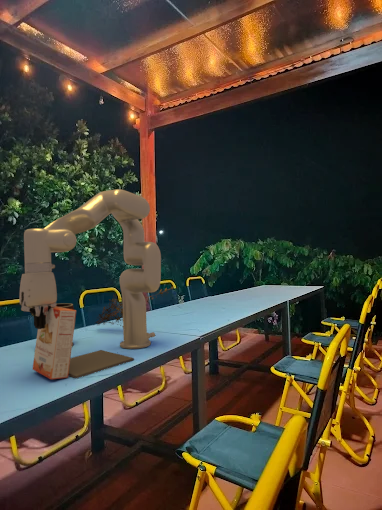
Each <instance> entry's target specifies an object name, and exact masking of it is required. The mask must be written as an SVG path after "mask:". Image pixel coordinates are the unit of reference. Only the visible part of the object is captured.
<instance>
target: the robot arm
mask: <svg viewBox="0 0 382 510" xmlns="http://www.w3.org/2000/svg"><path fill="white" fill-rule="evenodd" d="M150 211H151V206H150V203H149V202H148V200H147V199H146V198H145V197H143V196H141V195H138V194H136V193H133V192H130V191H127V190H125V189H120V188H117V189H116V188H115V189H108V190H104V191H100V192H98V193H96V194H95V195H93V197H91V198H90V199H89V200H87V201H86V202H85V203H83V204H82V205H81V206H79V207H78V208H77V209H74V210H72V211H70V212H68V213H66V214H65V215H63V216H61V217H59V218H57V219H56V220H54V221H52V222H50V223H49V224H48V225H47V226H45V227H44V228H28V229H26V230H24V232H23V246H24V247H23V248H24V251H23V253H24V273H22V274H21V278H20V286H19V305H20V306H21V308H20V310H21V311H23V312H29V313H30V314H31V315H32V316H33V326H34V328H35V329H37V330H38V329H42V328H45V325H46V315H47V312H48V311H49V310H50V308H52V307H56V304H57V301H58V293H57V292H58V291H57V284H56V283H57V282H56V277H55V274H54V272H52V271H53V270H54V269H55V268H56V265H55V264H54V263H52V253H66V252H69V251H71V250H73V249H74V248H75V247H76V245H77V241H78V240H77V237H76V235H78V234H80V233H81V234H82V233H84V232H87V231H90V230H91V229H94V228H96V227H97V225H99V224H100V223H101V222H102V221H103V220H105V219H106V217H108V216H109V215H112V216H113V218H114V219H115V220H116V221H117V222H118V224H119V225H120V226H121V228H122V232H123V260H124V262H125V264H126V265H129V266H143V268H128V269H125V270H124V271H122V272H121V274H120V276H119V279H118V280H119V286H120V291H121V298H122V300H123V301H122V303H123V305H122V308H123V318H122V328H123V330H122V331H123V335H122V336H123V340H122V341H121V342H120V343H119V347H120V348H122V349H127V350H130V349H131V350H132V349H134V350H137V349H142V348H147V347H150V346H151V344H152V343H151V342H152V341H151V340H149V339H151V338H154V337H155V336H156V333H155V332H148V328H147V326H148V325H147V306H146V305H147V299H146V296H145V294H143V293H155V292H157V290H158V289H159V288H160V286H161V282H162V281H161V277H162V275H161V274H162V264H161V263H162V254H161V250H160V248H159V246H158V244H157V243H156V242H154V241H153V242H152V241H145V230H144V227H143V225H142V223H141V221H139V220H143V219H146V218H147V217H148V216H149V214H150Z"/></svg>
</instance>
